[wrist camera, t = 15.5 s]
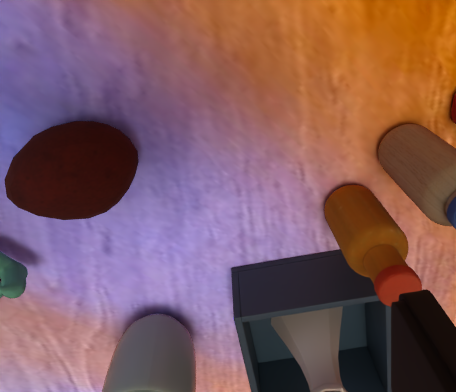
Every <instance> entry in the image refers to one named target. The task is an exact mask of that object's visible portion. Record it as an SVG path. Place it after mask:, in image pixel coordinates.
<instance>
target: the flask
mask: <svg viewBox="0 0 456 392" xmlns="http://www.w3.org/2000/svg"><path fill="white" fill-rule="evenodd" d="M342 309H343V306H342V307H336V308H330V309H323V310H317V311H311V312H305V313H298V314H292V315H286V316H280V317H274V318H271V325H272V326H273V328H274V329H275V331H276V332H277V334H278V335H279V336H280V338H281V339H282V340H283V342H284V343H285V344H286V346H287V347H288V349H289V350H290V352H291V353H292V355H293V356H294V358H295V359H296V361H297V362H298V364H299V365H300V367H301V369H302V371H303V373H304V375H305V378H306V380H307V382H308V385H309V389H310V392H347V391H346V389H345V388H344V387H343V385H342V382H341V378H340V372H339V362H338V352H339V338H340V327H341V319H342Z"/></svg>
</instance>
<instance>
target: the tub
mask: <svg viewBox="0 0 456 392" xmlns="http://www.w3.org/2000/svg"><path fill="white" fill-rule="evenodd" d="M231 273H232V292H233V310H234V321H235V325H236V329H237V333H238V338H239V342H240V346H241V350H242V354H243V359H244V363H245V367H246V371H247V375H248V379H249V384H250V388H251V392H310V389H309V385H308V382H307V380H306V378H305V375H304V373H303V371H302V369H301V367H300V365H299V364H298V362H297V361H296V359H295V358H294V356H293V355H292V353H291V352H290V350H289V349H288V347H287V346H286V344H285V343H284V342H283V340H282V339H281V338H280V336H279V335H278V334H277V332H276V331H275V329H274V328H273V326H272V325H271V318H274V317H280V316H286V315H292V314H298V313H305V312H311V311H317V310H323V309H330V308H336V307H342V306H343V309H342V319H341V327H340V338H339V352H338V362H339V372H340V378H341V382H342V385H343V387H344V388H345V389H346V391H347V392H392V389H391V307H390V306H387V305H385V304H383V303H382V302H381V301H380V299H379V298H378V296H377V294H376V292H375V289H374V284H373V282H372V280H371V278H370V277H365V276H362V275H360V274H358V273H356V272H355V271H354V270H353V269H352V268H351V267H350V266H349V265H348V263H347V261H346V259H345V257H344V255H343V253H342V251H341V250H335V251H329V252H323V253H317V254H311V255H305V256H299V257H294V258H288V259H282V260H276V261H270V262H264V263H258V264H252V265H246V266H240V267H234V268H231Z"/></svg>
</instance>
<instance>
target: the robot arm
mask: <svg viewBox="0 0 456 392" xmlns="http://www.w3.org/2000/svg"><path fill="white" fill-rule="evenodd" d="M391 389H392V392H456V327H455V326H454V324H453V323H452V321H451V320H450V319H449V317H448V316H447V314H446V313H445V311H444V310H443V309H442V307H441V306H440V304H439V303H438V302H437V300H436V299H435V297H434V296H433V294H432V293H431V292H430V291H429V290H421V291H415V292H409V293H402V294H400V295H399V300H398V301H396V302H392V304H391Z"/></svg>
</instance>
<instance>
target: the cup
mask: <svg viewBox="0 0 456 392" xmlns="http://www.w3.org/2000/svg"><path fill="white" fill-rule="evenodd" d="M102 392H196V357H195V349H194V344H193V341H192V338H191V335H190V334H189V332H188V330H187V329H186V328H185V326H184V325H183V324H182V323H181V322H179V321H178V320H177V319H175V318H173V317H171V316H168V315H165V314H151V315H147V316H144V317H142V318H140V319H138V320H136V321H135V322H134V323H132V324H131V325H130V326H129V327H128V328H127V329H126V331H125V332H124V333H123V335H122V337H121V338H120V340H119V342H118V344H117V346H116V348H115V351H114V353H113V356H112V359H111V362H110V365H109V368H108V371H107V375H106V378H105V382H104V385H103V389H102Z"/></svg>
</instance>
